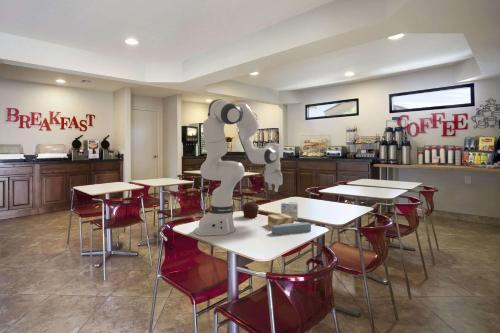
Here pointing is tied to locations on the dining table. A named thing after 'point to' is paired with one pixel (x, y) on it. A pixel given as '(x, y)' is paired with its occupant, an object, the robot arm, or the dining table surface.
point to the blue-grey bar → (291, 228)
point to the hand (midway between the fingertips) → (273, 190)
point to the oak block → (280, 219)
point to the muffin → (250, 210)
